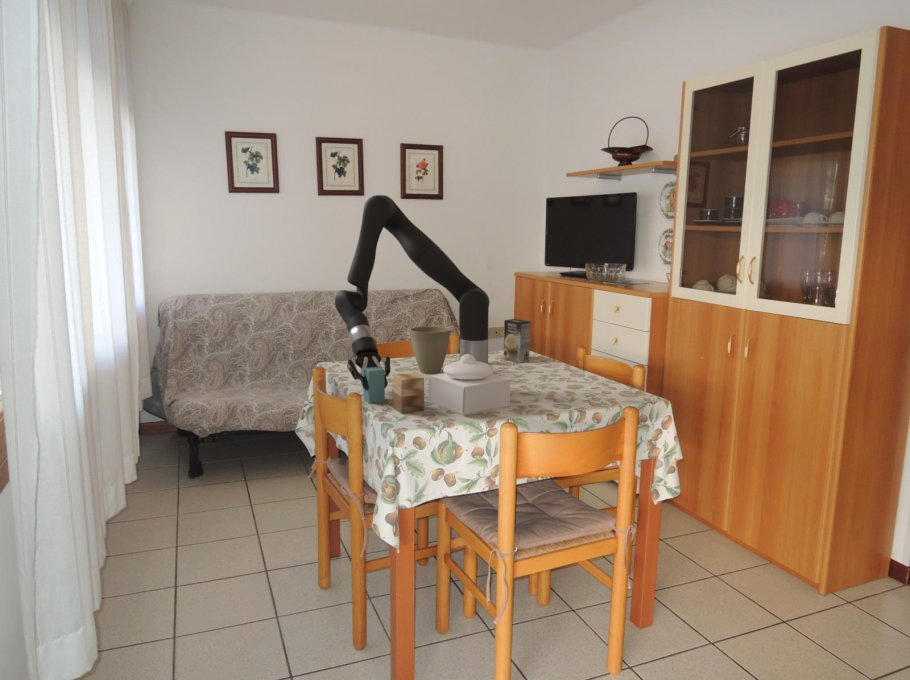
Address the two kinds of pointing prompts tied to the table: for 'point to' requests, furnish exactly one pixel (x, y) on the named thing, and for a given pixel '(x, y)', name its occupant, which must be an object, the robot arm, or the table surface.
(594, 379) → the table surface
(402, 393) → the oak block
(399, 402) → the walnut block
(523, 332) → the coffee box
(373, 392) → the teal pillar
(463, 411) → the butter dish
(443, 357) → the plant pot
